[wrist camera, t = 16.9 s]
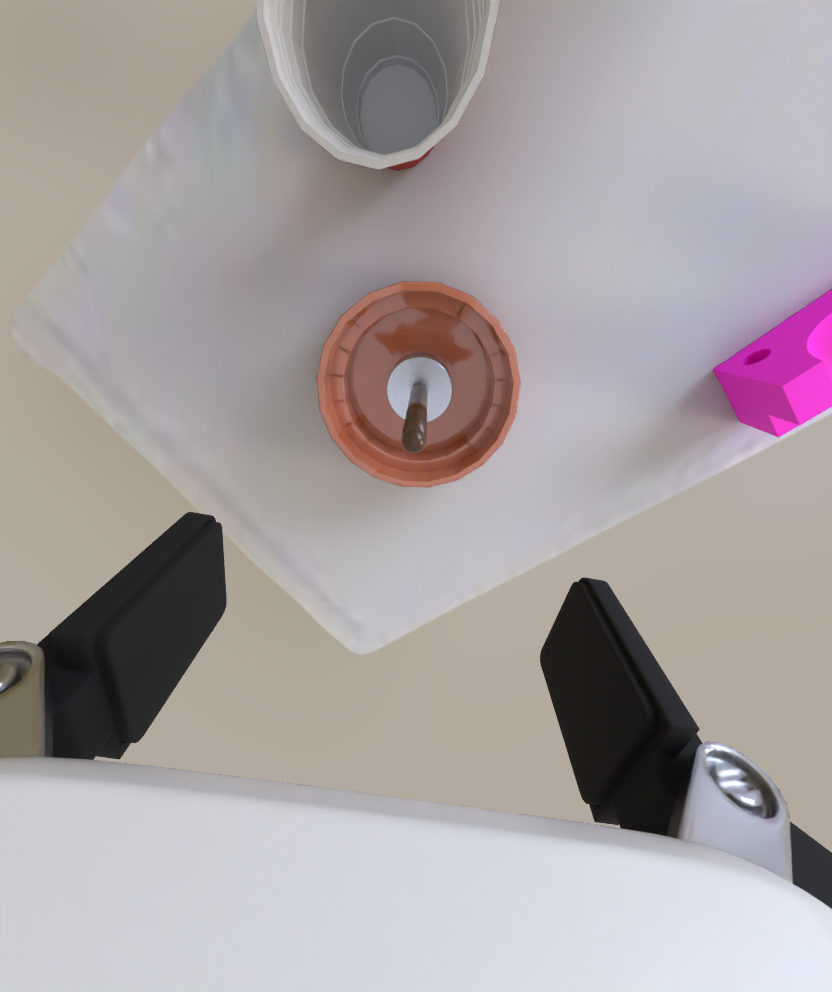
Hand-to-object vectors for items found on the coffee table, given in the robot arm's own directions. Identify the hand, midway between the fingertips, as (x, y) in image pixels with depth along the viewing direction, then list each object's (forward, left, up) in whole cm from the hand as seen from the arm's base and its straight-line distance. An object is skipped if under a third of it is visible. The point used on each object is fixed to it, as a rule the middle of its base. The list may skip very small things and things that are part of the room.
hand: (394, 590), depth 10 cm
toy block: (+16, +30, -28) cm, 44 cm away
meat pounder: (0, 0, -28) cm, 28 cm away
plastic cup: (-16, +9, -28) cm, 34 cm away
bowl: (0, 0, -28) cm, 28 cm away
